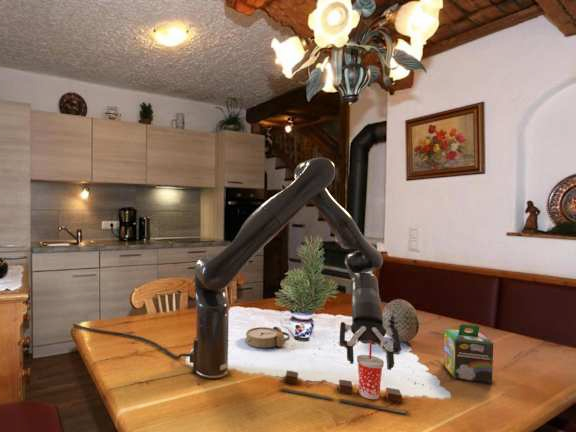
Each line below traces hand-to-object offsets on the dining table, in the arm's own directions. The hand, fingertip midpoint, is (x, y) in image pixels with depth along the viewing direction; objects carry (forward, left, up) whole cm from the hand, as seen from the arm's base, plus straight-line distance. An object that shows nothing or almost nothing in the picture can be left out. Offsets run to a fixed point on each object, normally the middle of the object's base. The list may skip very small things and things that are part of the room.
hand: (370, 365), depth 88 cm
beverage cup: (0, +1, -8) cm, 8 cm away
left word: (-15, -1, -8) cm, 17 cm away
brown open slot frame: (0, -1, -8) cm, 8 cm away
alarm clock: (-29, +26, -8) cm, 40 cm away
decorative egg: (+15, +46, -8) cm, 49 cm away
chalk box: (+28, +24, -8) cm, 38 cm away
